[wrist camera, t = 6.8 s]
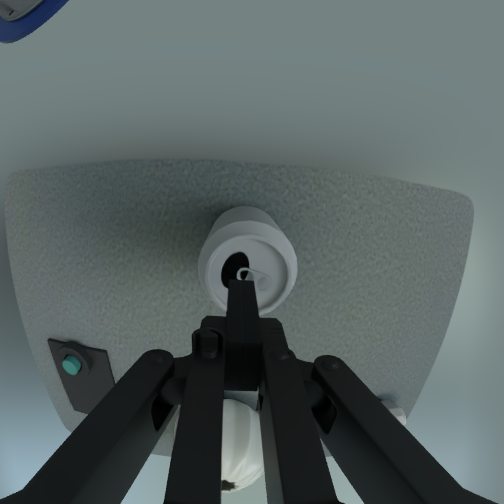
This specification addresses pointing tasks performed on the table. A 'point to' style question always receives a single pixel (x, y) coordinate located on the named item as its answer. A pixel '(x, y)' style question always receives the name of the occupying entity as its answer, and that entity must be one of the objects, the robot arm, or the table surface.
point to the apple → (395, 411)
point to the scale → (83, 374)
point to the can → (247, 258)
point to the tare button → (71, 364)
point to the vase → (239, 446)
